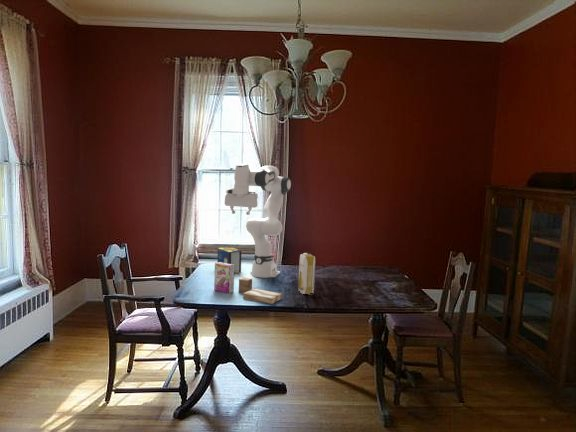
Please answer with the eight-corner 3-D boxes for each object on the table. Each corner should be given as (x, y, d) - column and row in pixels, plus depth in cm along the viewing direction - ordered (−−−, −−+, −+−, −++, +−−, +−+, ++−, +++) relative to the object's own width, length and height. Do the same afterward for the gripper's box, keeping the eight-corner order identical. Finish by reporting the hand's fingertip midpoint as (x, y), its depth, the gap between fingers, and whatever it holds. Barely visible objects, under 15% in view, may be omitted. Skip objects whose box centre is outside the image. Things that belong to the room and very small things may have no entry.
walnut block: (243, 290, 254) (243, 276, 254) (252, 291, 252) (252, 278, 251) (238, 292, 250) (238, 278, 249) (247, 293, 247) (247, 280, 246)
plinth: (254, 293, 248) (254, 288, 248) (281, 298, 240) (281, 293, 240) (243, 298, 237) (243, 293, 237) (271, 304, 230) (271, 298, 229)
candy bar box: (213, 290, 251) (214, 263, 249) (219, 288, 255) (219, 261, 253) (228, 293, 245) (229, 265, 243) (234, 292, 250) (234, 264, 248)
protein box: (229, 267, 310) (230, 246, 308) (241, 272, 298) (241, 250, 297) (216, 269, 303) (217, 247, 302) (228, 274, 292) (228, 251, 290)
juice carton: (296, 291, 256) (298, 251, 254) (308, 290, 259) (310, 251, 257) (302, 295, 248) (304, 254, 245) (315, 294, 251) (317, 254, 248)
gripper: (259, 191, 256) (258, 214, 258) (228, 190, 262) (227, 212, 263) (255, 192, 250) (255, 215, 252) (223, 190, 256) (223, 213, 257)
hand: (240, 214), depth 257 cm, fingers open, 8 cm apart
